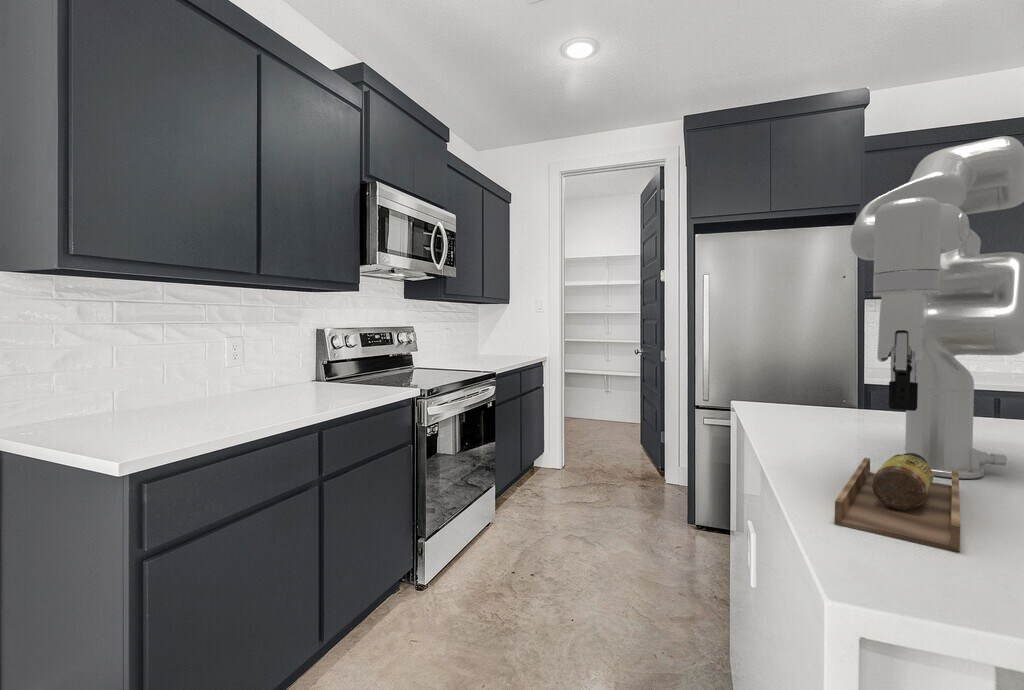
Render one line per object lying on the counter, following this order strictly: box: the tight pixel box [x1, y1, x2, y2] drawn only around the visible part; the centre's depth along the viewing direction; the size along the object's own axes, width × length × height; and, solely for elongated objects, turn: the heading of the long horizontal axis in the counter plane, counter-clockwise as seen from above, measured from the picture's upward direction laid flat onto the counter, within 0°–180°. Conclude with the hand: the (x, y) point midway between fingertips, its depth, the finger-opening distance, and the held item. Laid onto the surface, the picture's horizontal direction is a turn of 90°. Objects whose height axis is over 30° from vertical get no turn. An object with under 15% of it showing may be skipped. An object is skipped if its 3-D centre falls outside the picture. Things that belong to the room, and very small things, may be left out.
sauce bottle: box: [872, 453, 934, 510], centre depth 75 cm, size 7×6×20 cm
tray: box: [834, 457, 961, 553], centre depth 72 cm, size 30×13×3 cm, turn 137°
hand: (902, 408), depth 70 cm, fingers closed
